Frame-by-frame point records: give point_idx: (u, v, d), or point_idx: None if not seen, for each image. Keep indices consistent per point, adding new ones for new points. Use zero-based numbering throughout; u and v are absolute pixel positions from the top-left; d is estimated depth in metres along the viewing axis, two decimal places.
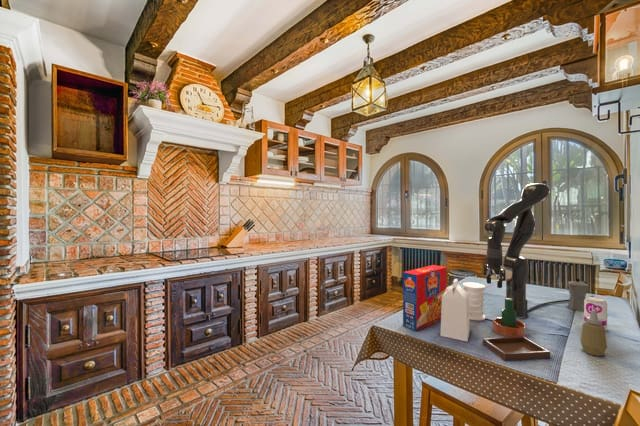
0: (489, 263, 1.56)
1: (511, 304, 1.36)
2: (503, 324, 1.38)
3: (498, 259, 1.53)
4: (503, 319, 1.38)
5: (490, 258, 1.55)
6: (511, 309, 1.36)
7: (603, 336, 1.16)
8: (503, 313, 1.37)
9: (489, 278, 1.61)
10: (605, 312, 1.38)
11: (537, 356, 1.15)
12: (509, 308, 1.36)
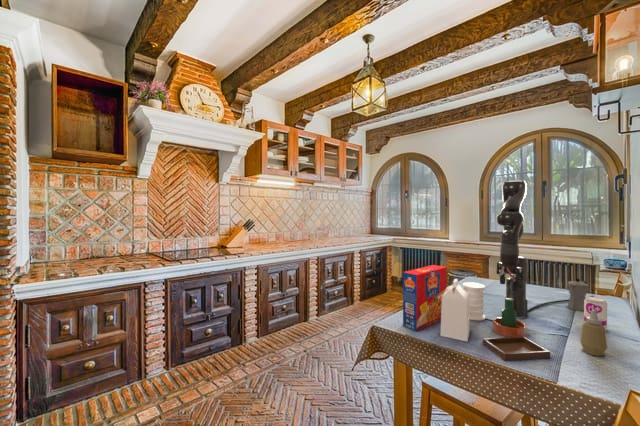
0: (504, 261, 1.36)
1: (511, 304, 1.36)
2: (503, 324, 1.38)
3: (514, 256, 1.34)
4: (503, 319, 1.38)
5: (504, 254, 1.36)
6: (511, 309, 1.36)
7: (603, 336, 1.16)
8: (503, 313, 1.37)
9: (503, 278, 1.41)
10: (605, 312, 1.38)
11: (537, 356, 1.15)
12: (509, 308, 1.36)
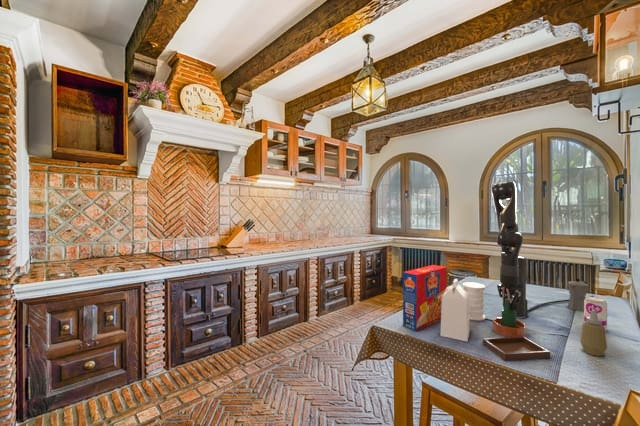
0: (503, 281, 1.36)
1: None
2: (503, 324, 1.38)
3: (514, 277, 1.34)
4: (503, 319, 1.38)
5: (504, 275, 1.36)
6: None
7: (603, 336, 1.16)
8: (503, 313, 1.37)
9: None
10: (605, 312, 1.38)
11: (537, 356, 1.15)
12: None
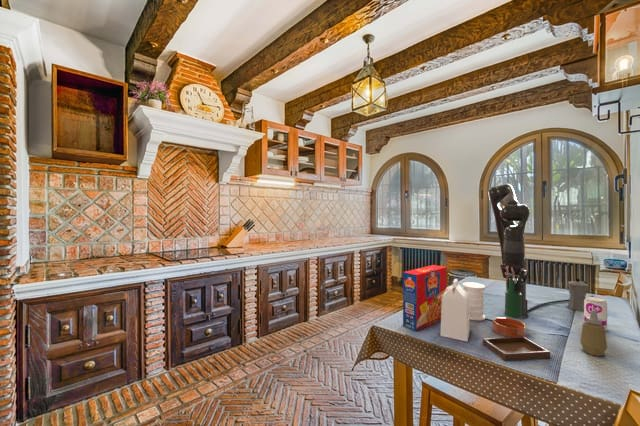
0: (508, 259, 1.22)
1: None
2: (507, 307, 1.23)
3: (519, 254, 1.20)
4: (507, 301, 1.23)
5: (508, 252, 1.22)
6: None
7: (603, 336, 1.16)
8: (507, 295, 1.23)
9: None
10: (605, 312, 1.38)
11: (537, 356, 1.15)
12: None
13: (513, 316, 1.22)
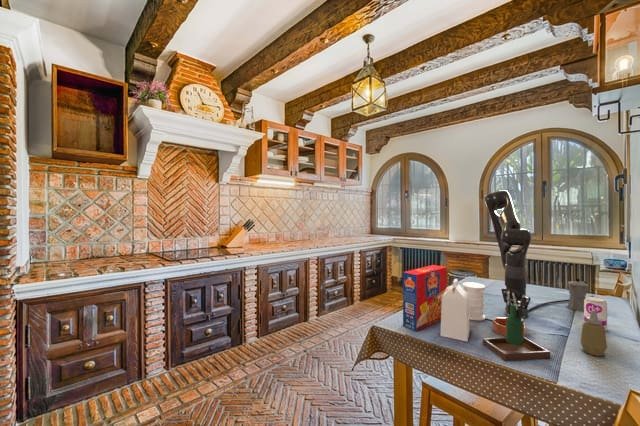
0: (509, 285, 1.19)
1: None
2: (508, 333, 1.21)
3: (521, 280, 1.17)
4: (508, 328, 1.21)
5: (509, 278, 1.19)
6: None
7: (603, 336, 1.16)
8: (508, 321, 1.21)
9: None
10: (605, 312, 1.38)
11: (537, 356, 1.15)
12: (515, 315, 1.20)
13: (514, 343, 1.19)
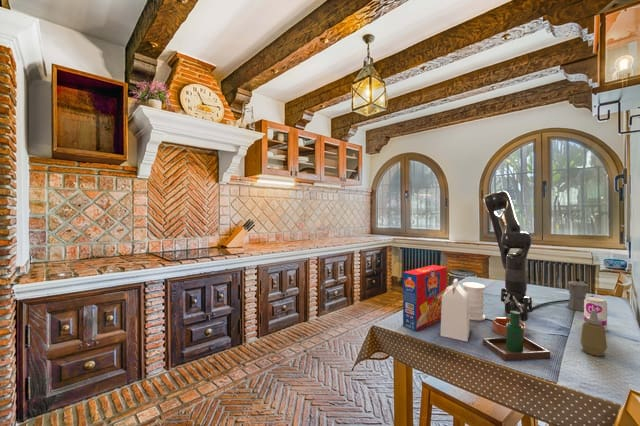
0: (509, 288, 1.19)
1: (517, 318, 1.19)
2: (508, 341, 1.21)
3: (521, 283, 1.17)
4: (508, 335, 1.21)
5: (510, 281, 1.19)
6: (517, 324, 1.20)
7: (603, 336, 1.16)
8: (508, 328, 1.21)
9: (508, 306, 1.25)
10: (605, 312, 1.38)
11: (537, 356, 1.15)
12: (515, 323, 1.20)
13: (514, 350, 1.19)
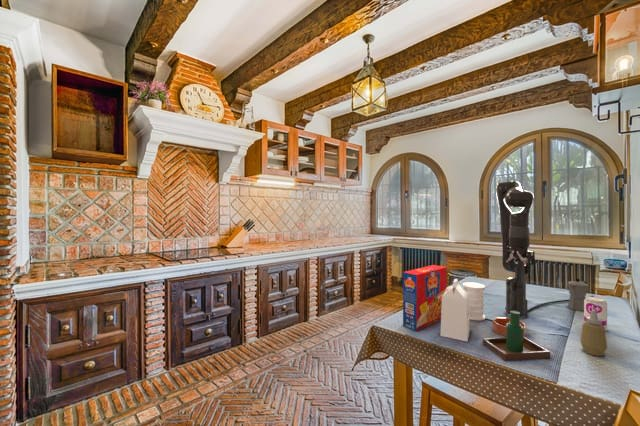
0: (513, 244, 1.27)
1: (517, 318, 1.19)
2: (508, 341, 1.21)
3: (525, 239, 1.25)
4: (508, 335, 1.21)
5: (514, 237, 1.27)
6: (517, 324, 1.20)
7: (603, 336, 1.16)
8: (508, 328, 1.21)
9: (512, 263, 1.33)
10: (605, 312, 1.38)
11: (537, 356, 1.15)
12: (515, 323, 1.20)
13: (514, 350, 1.19)
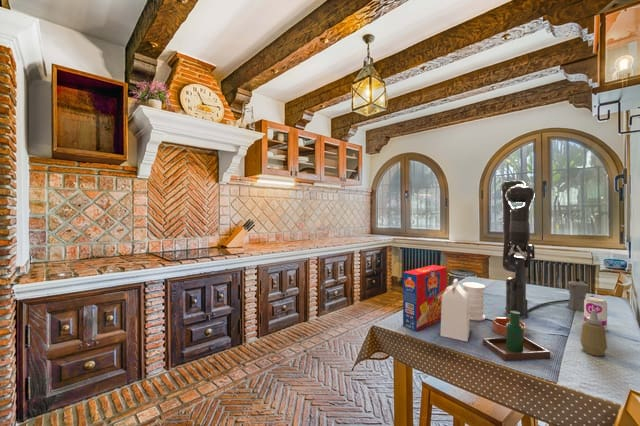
0: (513, 238, 1.30)
1: (517, 318, 1.19)
2: (508, 341, 1.21)
3: (525, 233, 1.27)
4: (508, 335, 1.21)
5: (514, 232, 1.29)
6: (517, 324, 1.20)
7: (603, 336, 1.16)
8: (508, 328, 1.21)
9: (512, 257, 1.35)
10: (605, 312, 1.38)
11: (537, 356, 1.15)
12: (515, 323, 1.20)
13: (514, 350, 1.19)
